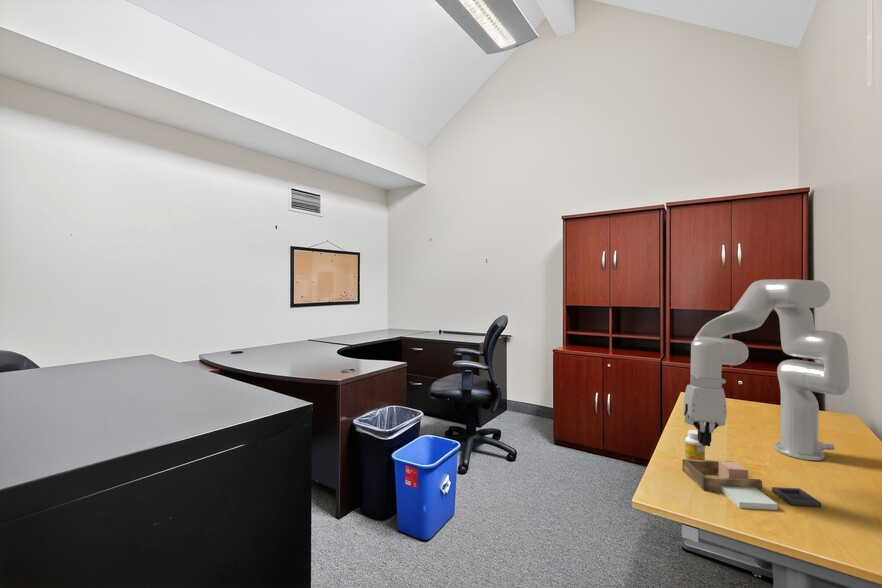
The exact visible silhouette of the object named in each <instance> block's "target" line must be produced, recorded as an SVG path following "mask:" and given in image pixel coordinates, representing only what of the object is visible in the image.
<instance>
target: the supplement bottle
mask: <svg viewBox="0 0 882 588" xmlns="http://www.w3.org/2000/svg"><path fill="white" fill-rule="evenodd" d="M684 440H685V441H684V442H685V444H684V446H685V447H684V451H685V452H684V459H687V460H706V457H705V456H706V446H703V445H702V444H700V443H699V441H698V429H689V430H687V436H685V439H684Z"/></svg>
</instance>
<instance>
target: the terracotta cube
mask: <svg viewBox="0 0 882 588" xmlns="http://www.w3.org/2000/svg"><path fill="white" fill-rule="evenodd" d="M718 461H719V473H718V477H720V478H742V479H749V470H748V469H747V468H746V467H745V466H743V465H742V464H740V463H739V462H738V461H735V462H725V461H726V460H718Z"/></svg>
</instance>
